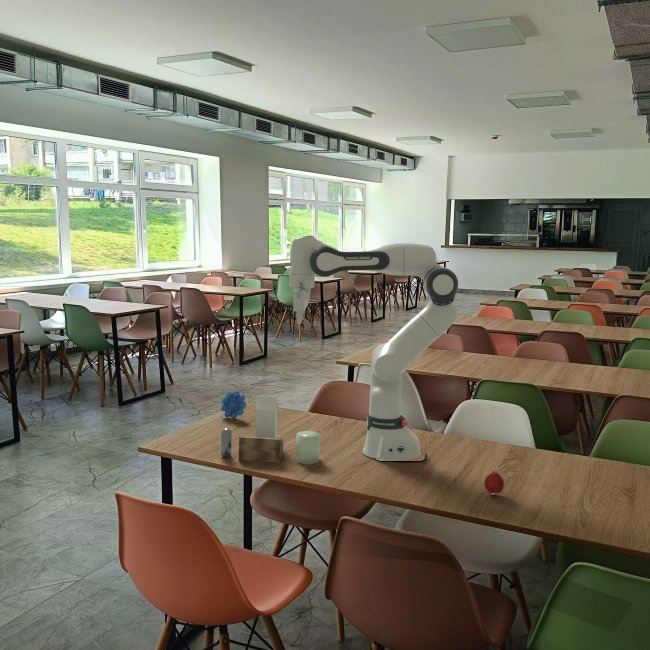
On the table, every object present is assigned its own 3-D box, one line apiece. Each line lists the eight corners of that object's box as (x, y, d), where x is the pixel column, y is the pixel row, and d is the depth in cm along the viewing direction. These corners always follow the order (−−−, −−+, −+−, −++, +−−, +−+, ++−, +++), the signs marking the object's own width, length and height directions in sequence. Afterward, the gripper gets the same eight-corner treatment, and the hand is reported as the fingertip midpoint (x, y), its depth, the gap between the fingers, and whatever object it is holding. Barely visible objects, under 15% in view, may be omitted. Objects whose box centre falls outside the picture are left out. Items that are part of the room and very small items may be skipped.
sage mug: (313, 452, 228) (314, 428, 227) (321, 463, 218) (322, 437, 217) (291, 454, 226) (292, 429, 224) (298, 464, 216) (299, 439, 214)
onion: (488, 490, 201) (490, 465, 200) (506, 495, 197) (508, 470, 196) (480, 495, 196) (482, 470, 195) (497, 501, 193) (500, 475, 191)
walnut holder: (283, 453, 226) (283, 431, 225) (279, 462, 217) (280, 439, 216) (243, 450, 227) (244, 429, 226) (238, 460, 218) (239, 437, 217)
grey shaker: (232, 454, 223) (232, 427, 222) (230, 458, 219) (230, 430, 218) (222, 453, 223) (222, 426, 222) (219, 457, 220) (220, 429, 218)
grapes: (250, 418, 266) (251, 389, 264) (243, 422, 260) (243, 393, 258) (226, 414, 270) (226, 386, 268) (218, 418, 264) (218, 389, 262)
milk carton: (274, 451, 228) (275, 399, 225) (254, 450, 228) (255, 398, 225) (276, 444, 235) (277, 394, 232) (256, 443, 235) (258, 393, 232)
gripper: (308, 285, 214) (306, 326, 216) (313, 280, 234) (311, 318, 236) (289, 284, 214) (288, 325, 216) (295, 279, 235) (294, 317, 237)
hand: (300, 321), depth 227 cm, fingers open, 8 cm apart
